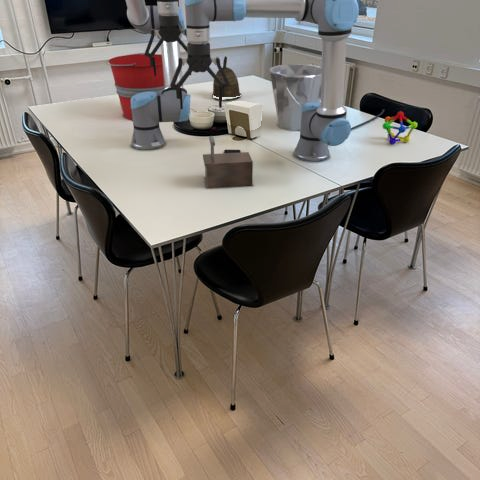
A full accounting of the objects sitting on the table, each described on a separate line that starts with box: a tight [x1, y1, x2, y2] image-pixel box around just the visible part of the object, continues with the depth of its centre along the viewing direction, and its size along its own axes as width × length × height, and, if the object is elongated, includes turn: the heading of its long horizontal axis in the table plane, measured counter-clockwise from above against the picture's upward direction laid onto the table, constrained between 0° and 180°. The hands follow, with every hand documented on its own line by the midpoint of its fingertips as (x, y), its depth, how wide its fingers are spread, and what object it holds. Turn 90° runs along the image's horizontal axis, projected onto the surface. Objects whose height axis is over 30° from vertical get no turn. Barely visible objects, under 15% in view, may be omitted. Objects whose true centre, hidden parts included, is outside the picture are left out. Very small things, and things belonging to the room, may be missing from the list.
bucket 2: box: [269, 63, 322, 131], centre depth 226 cm, size 30×30×28 cm
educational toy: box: [382, 110, 418, 145], centre depth 207 cm, size 16×13×15 cm
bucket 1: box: [105, 52, 164, 121], centre depth 241 cm, size 35×35×30 cm
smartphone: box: [223, 149, 241, 153], centre depth 194 cm, size 7×1×15 cm
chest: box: [204, 163, 254, 189], centre depth 170 cm, size 17×10×9 cm, turn 98°
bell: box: [212, 56, 242, 97], centre depth 278 cm, size 19×26×20 cm
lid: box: [202, 135, 254, 167], centre depth 165 cm, size 18×10×9 cm, turn 98°
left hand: (172, 75), depth 174 cm, fingers open, 13 cm apart
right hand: (201, 107), depth 156 cm, fingers open, 13 cm apart
